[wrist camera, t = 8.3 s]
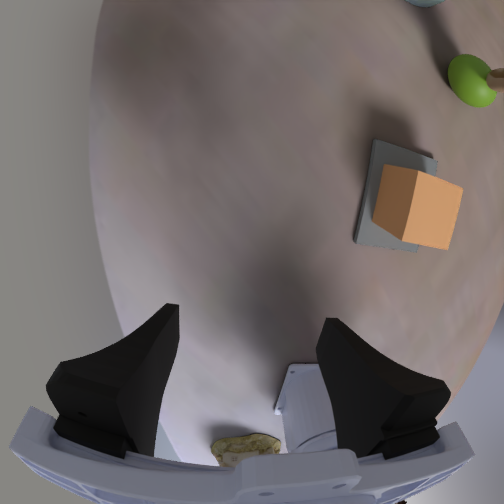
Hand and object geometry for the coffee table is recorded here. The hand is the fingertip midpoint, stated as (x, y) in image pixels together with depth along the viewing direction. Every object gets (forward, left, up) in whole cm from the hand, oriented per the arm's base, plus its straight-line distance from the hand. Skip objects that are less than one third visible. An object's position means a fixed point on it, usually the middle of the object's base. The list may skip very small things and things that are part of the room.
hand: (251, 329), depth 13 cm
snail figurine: (+20, -18, -11) cm, 29 cm away
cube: (+7, -13, -10) cm, 17 cm away
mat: (+6, -13, -10) cm, 18 cm away
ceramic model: (-35, -4, -11) cm, 37 cm away
